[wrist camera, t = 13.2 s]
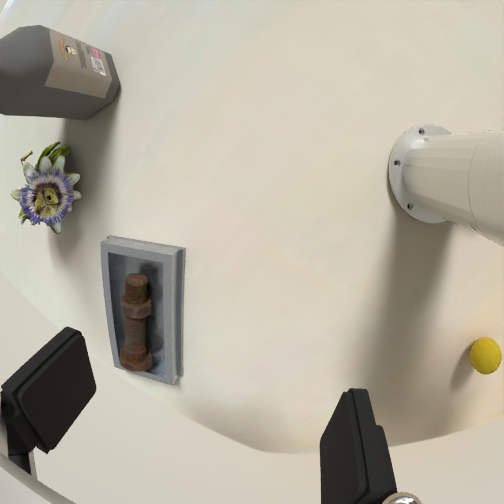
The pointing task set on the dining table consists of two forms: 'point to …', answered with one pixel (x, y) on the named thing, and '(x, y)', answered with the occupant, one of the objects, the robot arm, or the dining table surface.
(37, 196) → the passion flower
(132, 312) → the bolt
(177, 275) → the tray
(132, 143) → the dining table surface
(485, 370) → the lemon
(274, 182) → the dining table surface
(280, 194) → the dining table surface
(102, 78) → the liquor
